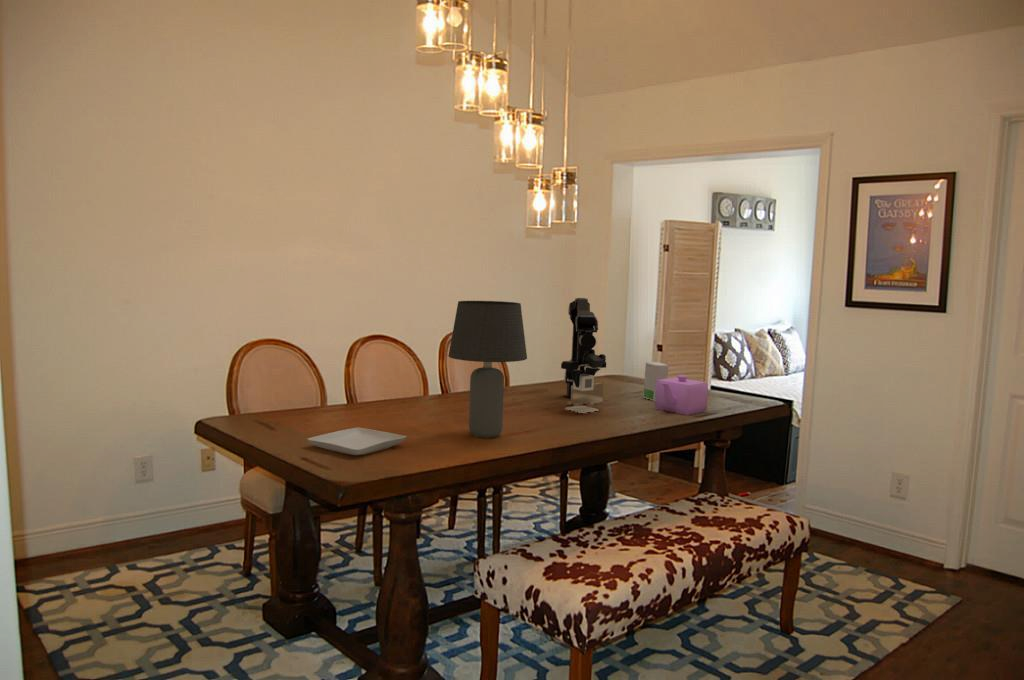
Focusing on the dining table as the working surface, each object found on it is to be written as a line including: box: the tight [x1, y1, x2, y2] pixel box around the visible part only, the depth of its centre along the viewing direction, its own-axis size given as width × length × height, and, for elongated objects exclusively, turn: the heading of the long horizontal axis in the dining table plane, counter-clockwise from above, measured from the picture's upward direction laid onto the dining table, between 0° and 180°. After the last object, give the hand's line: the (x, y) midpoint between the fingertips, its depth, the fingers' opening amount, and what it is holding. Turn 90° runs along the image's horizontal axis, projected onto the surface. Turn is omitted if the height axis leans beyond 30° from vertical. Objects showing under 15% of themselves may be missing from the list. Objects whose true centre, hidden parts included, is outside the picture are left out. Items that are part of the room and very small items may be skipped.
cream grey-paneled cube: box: [573, 374, 595, 391], centre depth 292 cm, size 6×6×6 cm
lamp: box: [447, 300, 528, 439], centre depth 243 cm, size 25×25×43 cm
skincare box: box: [642, 361, 669, 402], centre depth 322 cm, size 8×7×16 cm
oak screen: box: [567, 382, 604, 407], centre depth 306 cm, size 5×16×8 cm, turn 127°
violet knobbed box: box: [654, 374, 709, 416], centre depth 299 cm, size 15×25×14 cm, turn 133°
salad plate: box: [306, 427, 407, 456], centre depth 225 cm, size 21×21×3 cm
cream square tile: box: [565, 405, 600, 414], centre depth 293 cm, size 9×9×1 cm
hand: (583, 386), depth 292 cm, fingers closed on cream grey-paneled cube, 5 cm apart
